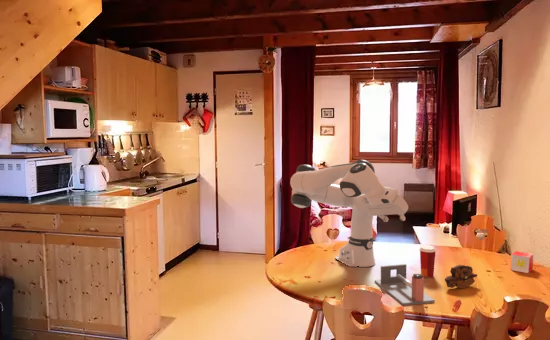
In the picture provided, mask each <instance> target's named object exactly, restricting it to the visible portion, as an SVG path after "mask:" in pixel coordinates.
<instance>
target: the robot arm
mask: <svg viewBox="0 0 550 340" xmlns="http://www.w3.org/2000/svg"><path fill="white" fill-rule="evenodd" d="M340 179H341V180H340ZM338 180H340V182H339V184H335V182H337V181H338ZM289 184H290V187H291V189H292V190H291V196H290V202H291V204H292V205H293V206H295V207H297V208H300V209H304V208H308V207H310V206H311V204H312V202H317V203H321V204H324V205H329V206H335V207H341V208H342V207H343V208H344V207H345V208H350V209H351V210H352V211H351V221H350V236H346V238H347V240H348V242H347V243H346V244H345V245H343V246H342V247H340V249H339V254H338V255H336V256H335V257H334V259H335V258H336V259H338V260H339V261H341V262H343V263H345V264H346V266H347V265H349V266H348V267H357V266H359V268H366V267H367V268H368V267H372V266H374V265H376V259H375V255H374V247H373V246H374V236H373V220H374V216H377V217H378V218H380V219H381V220H383V222H384V223H388V221H389V217H388V216H389V215H398V216H399V220H400V221H401V222H404V221H406V216H405V214H406V212H408V210H409V204H408V203H407V201H406V200H405V199H404V198H403V196H402V195H400V194H399V191H398V190H397V189H396V188H392V187H388V186H384V184H383V183H382V182H380V180H379V177H378V176H377V174H376V172H375V168H374V165H373V164H372V163H371V162H370V161H368V160H366V159H357V160H355V161H354V162H349V163H343V164H336V165H331V166H328V167H325V168H321V169H316V167H314V166H312V165H310V164H299V165H298V166H297V168H296V171H295V173H293V175H291V177H290V182H289ZM336 259H335V260H336ZM339 261H338V262H339ZM341 262H340V263H341ZM343 263H342V264H343ZM345 264H344V265H345Z"/></svg>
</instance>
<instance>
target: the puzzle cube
mask: <svg viewBox="0 0 550 340" xmlns="http://www.w3.org/2000/svg"><path fill="white" fill-rule="evenodd" d="M510 255H511V256H510V257H511V258H510V270H511V271H515V272H520V273H526V274H530V273H531V271H533V269H534V253H528V252H525V251H524V252H523V251H517V250H516V251H514V252H513V253H511V254H510Z"/></svg>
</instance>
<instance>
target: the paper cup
mask: <svg viewBox="0 0 550 340" xmlns="http://www.w3.org/2000/svg"><path fill="white" fill-rule="evenodd" d="M418 251H419V255H420V256H419V257H420V258H419V259H420V274H421V275H423V278H433V277H434V273H435V272H434V271H435V261H436V252H437V250H436V248H435V246H433V245H432V246H431V245H421V246H420V247H419V249H418Z"/></svg>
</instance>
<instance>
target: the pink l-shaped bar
mask: <svg viewBox="0 0 550 340" xmlns="http://www.w3.org/2000/svg"><path fill="white" fill-rule="evenodd" d="M395 276H396V275H395ZM396 277H397V278H398V279H399V280H400V281H402V282H403V283H405V284H406V285H407V286H409V287H410V288H412V299H413V300H414V301H416V302H418V301H423V299H424V293H425V290H424V289H425V287H424V286H425V285H424V283H425V282H424V281H425V277H423V275H421V273H413V275H412V276H411V281H410V280H409V279H408V278H407V277H406V278H404V277H403V276H401V275H400V274H397V276H396Z"/></svg>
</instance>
